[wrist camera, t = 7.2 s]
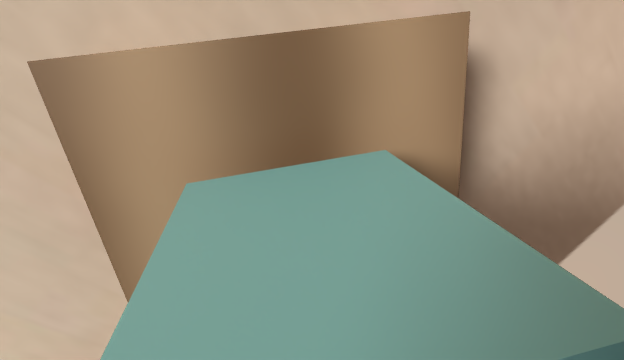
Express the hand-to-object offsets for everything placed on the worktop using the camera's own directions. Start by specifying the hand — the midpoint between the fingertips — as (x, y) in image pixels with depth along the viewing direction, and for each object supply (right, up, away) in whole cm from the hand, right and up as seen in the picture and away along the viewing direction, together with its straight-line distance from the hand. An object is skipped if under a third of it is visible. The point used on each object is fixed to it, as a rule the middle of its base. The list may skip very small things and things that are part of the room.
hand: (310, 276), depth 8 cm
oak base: (-1, +2, +5) cm, 6 cm away
